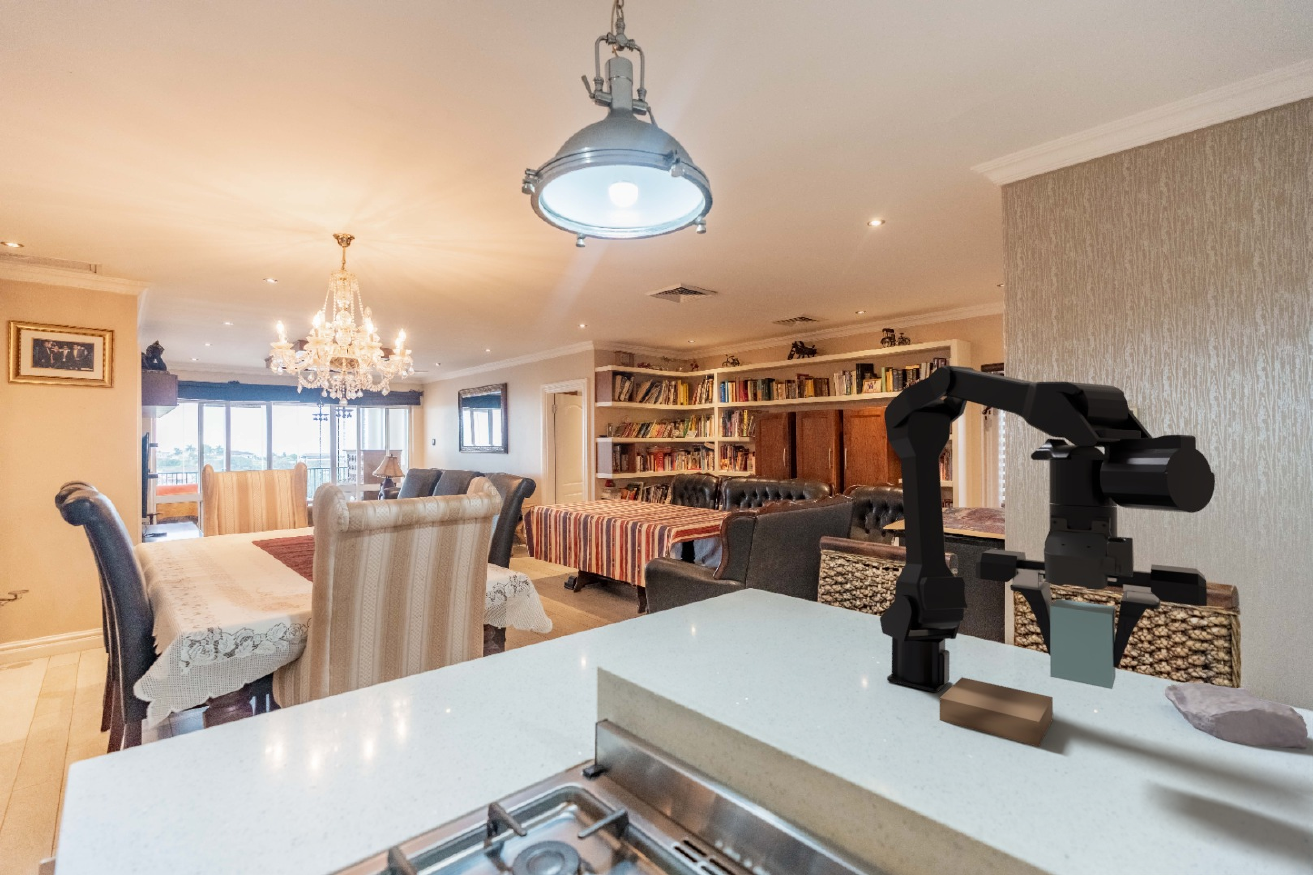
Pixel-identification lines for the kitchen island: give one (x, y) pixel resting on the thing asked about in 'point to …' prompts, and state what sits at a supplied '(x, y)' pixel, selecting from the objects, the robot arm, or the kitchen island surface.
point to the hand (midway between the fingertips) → (1083, 660)
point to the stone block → (1238, 715)
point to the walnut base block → (997, 710)
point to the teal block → (1082, 642)
